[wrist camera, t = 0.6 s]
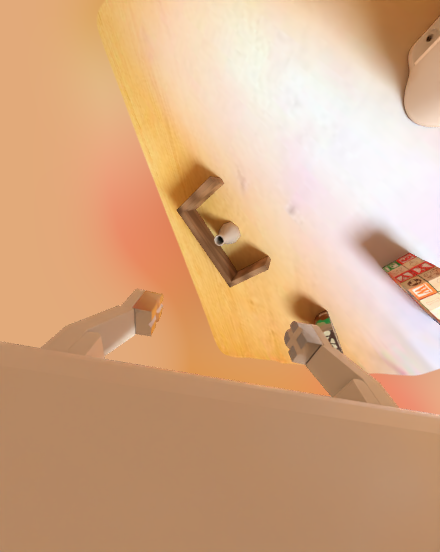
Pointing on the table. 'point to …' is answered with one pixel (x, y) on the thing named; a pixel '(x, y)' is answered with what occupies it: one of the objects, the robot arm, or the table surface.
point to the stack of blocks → (418, 282)
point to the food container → (328, 329)
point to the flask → (227, 234)
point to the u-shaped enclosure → (207, 238)
